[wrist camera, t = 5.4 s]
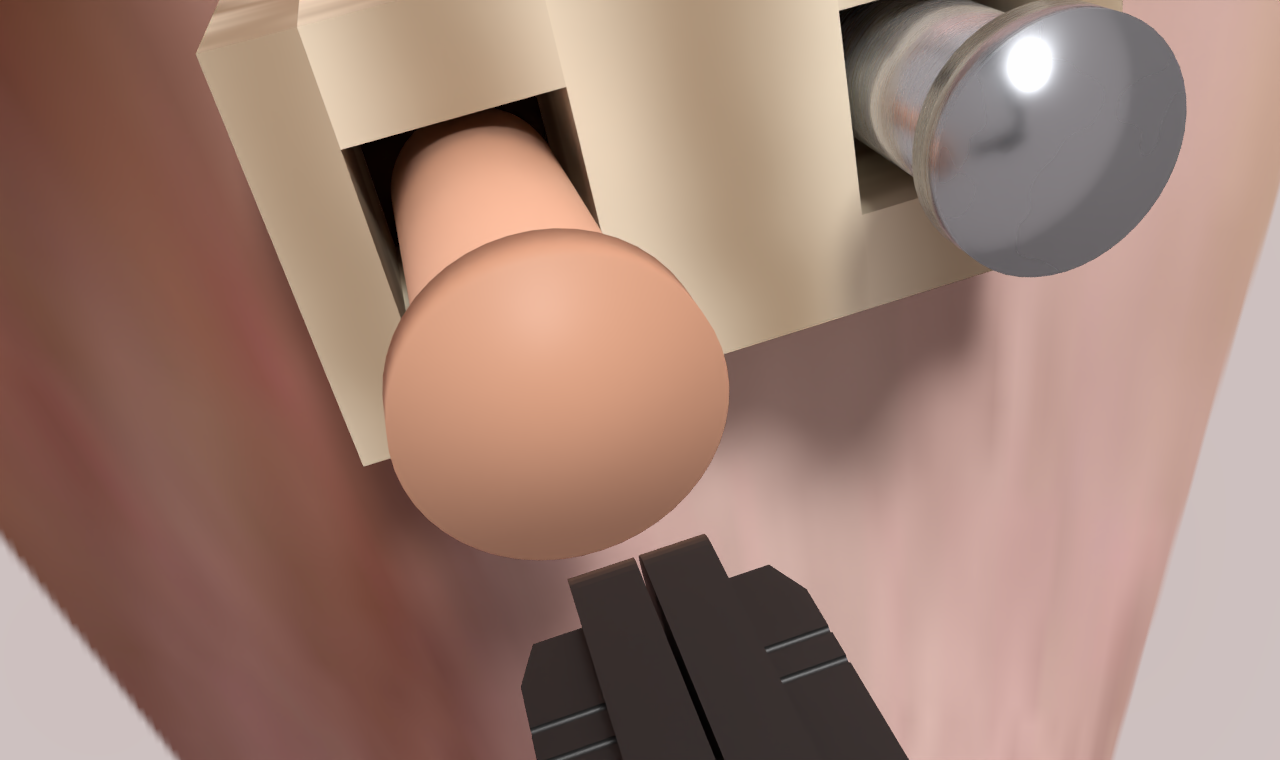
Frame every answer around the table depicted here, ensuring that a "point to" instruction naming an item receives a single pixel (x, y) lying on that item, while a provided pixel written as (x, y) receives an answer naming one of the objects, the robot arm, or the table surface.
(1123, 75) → the steel plunger
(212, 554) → the table surface
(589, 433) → the terracotta plunger
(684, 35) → the beige rectangular block
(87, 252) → the table surface
